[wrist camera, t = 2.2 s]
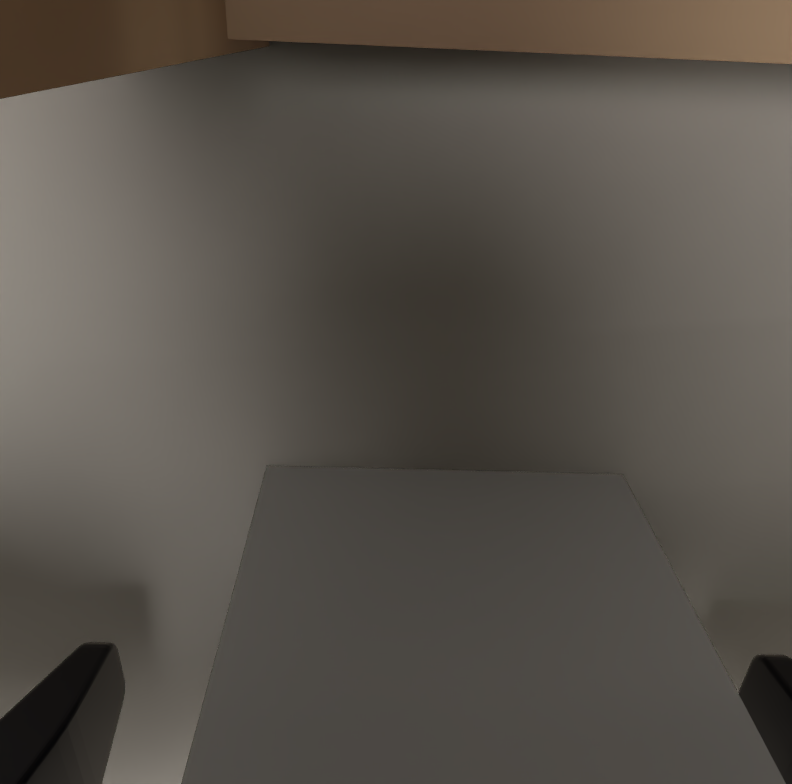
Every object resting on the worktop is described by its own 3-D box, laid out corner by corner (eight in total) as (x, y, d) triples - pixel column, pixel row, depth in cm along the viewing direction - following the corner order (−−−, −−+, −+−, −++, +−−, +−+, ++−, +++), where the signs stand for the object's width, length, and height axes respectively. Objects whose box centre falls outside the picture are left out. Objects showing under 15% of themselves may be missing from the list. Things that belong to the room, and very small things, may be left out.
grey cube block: (564, 701, 12) (669, 1094, 8) (282, 697, 12) (222, 1094, 7) (621, 470, 10) (820, 849, 5) (267, 462, 9) (165, 843, 5)
